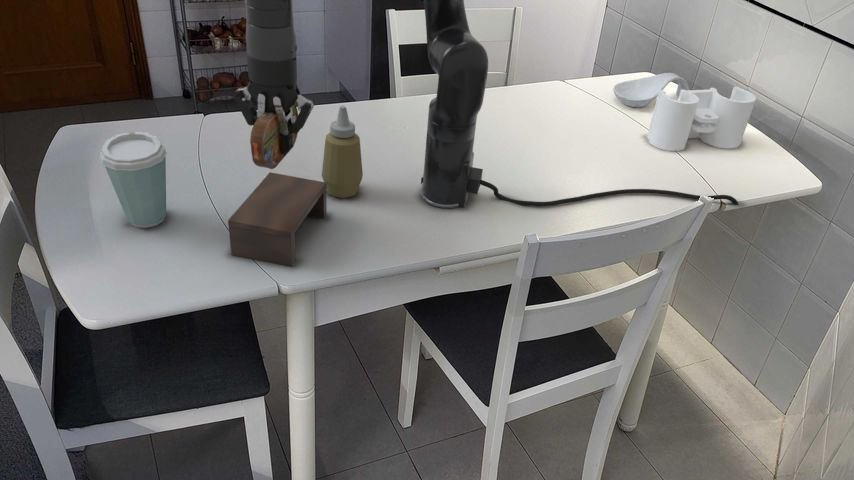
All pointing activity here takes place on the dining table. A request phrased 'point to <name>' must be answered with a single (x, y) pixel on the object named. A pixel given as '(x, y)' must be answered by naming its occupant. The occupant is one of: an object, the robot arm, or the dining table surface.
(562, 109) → the dining table surface
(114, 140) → the disposable coffee cup
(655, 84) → the spoon rest
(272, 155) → the tin
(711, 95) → the bracket
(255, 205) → the stand
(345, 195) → the squeeze bottle
